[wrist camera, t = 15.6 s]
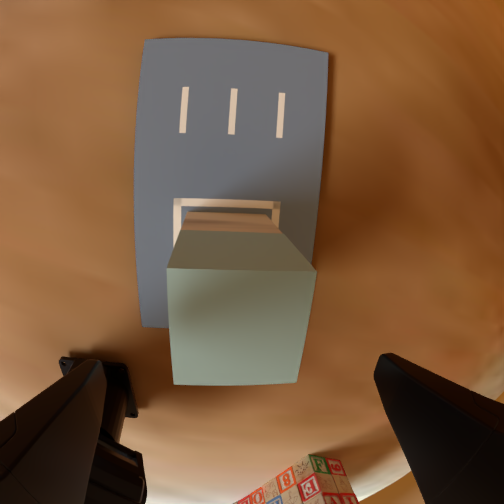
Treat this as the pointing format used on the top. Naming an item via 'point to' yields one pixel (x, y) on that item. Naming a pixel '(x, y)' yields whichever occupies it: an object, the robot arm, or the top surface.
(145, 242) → the blueprint board
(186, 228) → the maple block
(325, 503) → the stack of blocks
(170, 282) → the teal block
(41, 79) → the top surface
